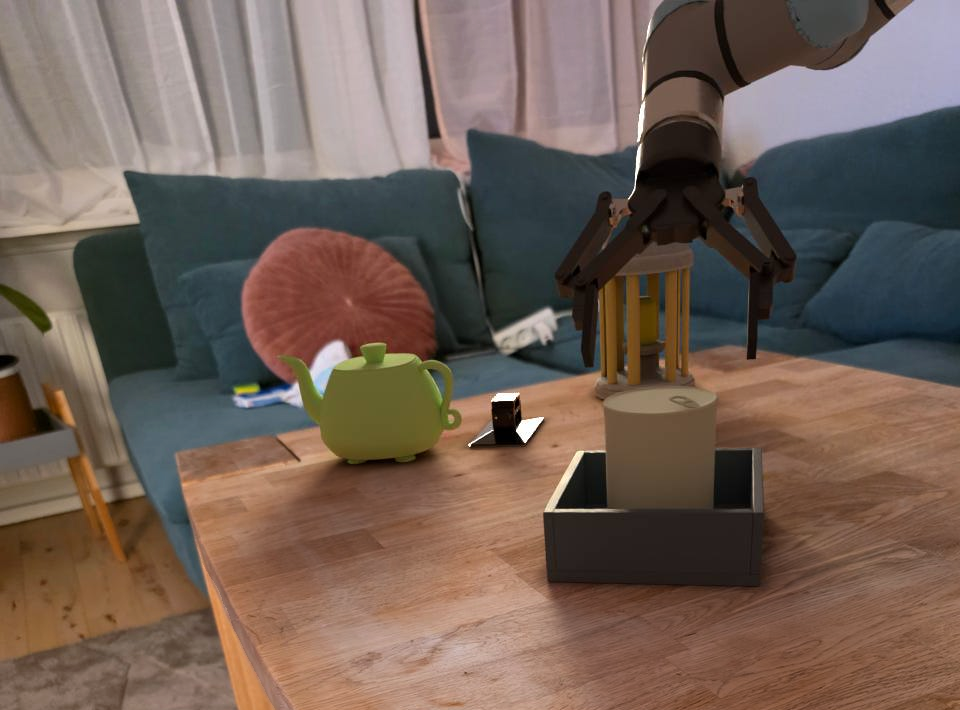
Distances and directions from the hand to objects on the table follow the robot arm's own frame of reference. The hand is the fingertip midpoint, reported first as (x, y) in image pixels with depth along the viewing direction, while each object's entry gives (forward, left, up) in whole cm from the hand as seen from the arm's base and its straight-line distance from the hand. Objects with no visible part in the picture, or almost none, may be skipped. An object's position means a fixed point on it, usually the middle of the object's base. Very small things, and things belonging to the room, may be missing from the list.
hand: (667, 354), depth 75 cm
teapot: (+37, -24, -15) cm, 47 cm away
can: (0, +5, -14) cm, 15 cm away
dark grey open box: (0, +5, -15) cm, 16 cm away
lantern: (+7, -53, -15) cm, 55 cm away
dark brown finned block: (+22, -32, -15) cm, 42 cm away
